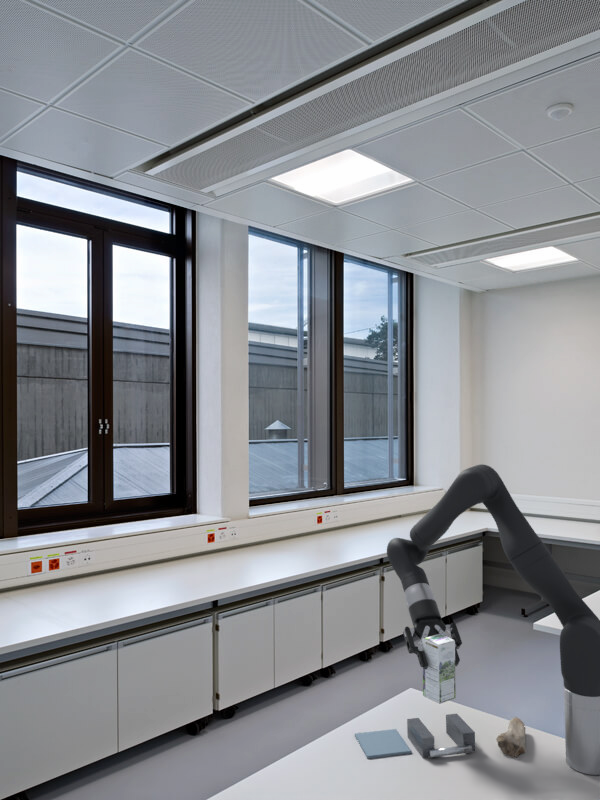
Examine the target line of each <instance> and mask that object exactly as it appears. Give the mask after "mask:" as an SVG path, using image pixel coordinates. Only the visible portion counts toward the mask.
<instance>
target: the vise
mask: <svg viewBox="0 0 600 800" xmlns="http://www.w3.org/2000/svg"><path fill="white" fill-rule="evenodd" d="M406 720H407V721H406V725H407V726H406V730H407V739H408V740H409V741H410V743H411V744H412V745H413V747H414V749H415V750H416V751H417V752H418V754H419V755H420V756H421V758H423V759H424V758H438V757H439V758H440V757H445V756H454V755H462V754H469V753H470V754H471V753H473V752H476V732H475V731H474V729H472V727H470V725H468V723H466V721H465V720H463V719H462V717H461V716H460V715H459V714H458V713H452V714H451V713H449V714H445V732H446V734H447V735H448V736H449V738H451V740H452V741H453V742H454V744H455V745H456V746H450V747H440V748H435V736H434V735H433V734H432V732H431V731H430V730H429V729H428V728H427V726H426V725H425V724H424V723H423V722H422V721H421V719H420V718H419V717H413V718H412V717H411V718H407V719H406Z"/></svg>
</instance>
